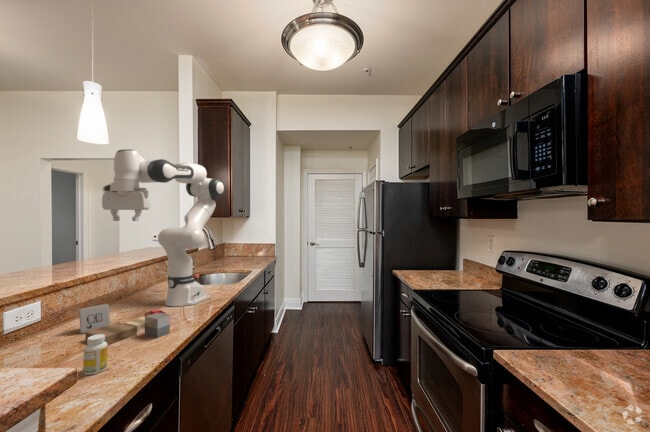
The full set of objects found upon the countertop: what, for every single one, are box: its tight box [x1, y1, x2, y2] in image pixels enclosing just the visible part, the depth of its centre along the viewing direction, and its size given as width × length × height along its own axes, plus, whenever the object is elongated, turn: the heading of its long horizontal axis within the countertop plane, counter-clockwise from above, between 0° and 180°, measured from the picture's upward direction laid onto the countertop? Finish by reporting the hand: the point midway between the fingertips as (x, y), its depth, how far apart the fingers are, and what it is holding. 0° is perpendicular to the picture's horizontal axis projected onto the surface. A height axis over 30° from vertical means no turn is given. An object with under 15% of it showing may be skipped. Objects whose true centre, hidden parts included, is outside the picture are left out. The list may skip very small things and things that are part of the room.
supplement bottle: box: [82, 334, 109, 376], centre depth 83 cm, size 5×5×10 cm
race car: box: [143, 309, 169, 317], centre depth 125 cm, size 13×5×4 cm, turn 61°
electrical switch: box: [78, 303, 111, 335], centre depth 113 cm, size 9×5×9 cm, turn 141°
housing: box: [144, 313, 171, 339], centre depth 109 cm, size 5×7×7 cm
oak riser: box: [123, 316, 145, 332], centre depth 117 cm, size 8×8×2 cm
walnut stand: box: [84, 322, 138, 346], centre depth 105 cm, size 11×11×3 cm
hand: (125, 220), depth 120 cm, fingers open, 8 cm apart
